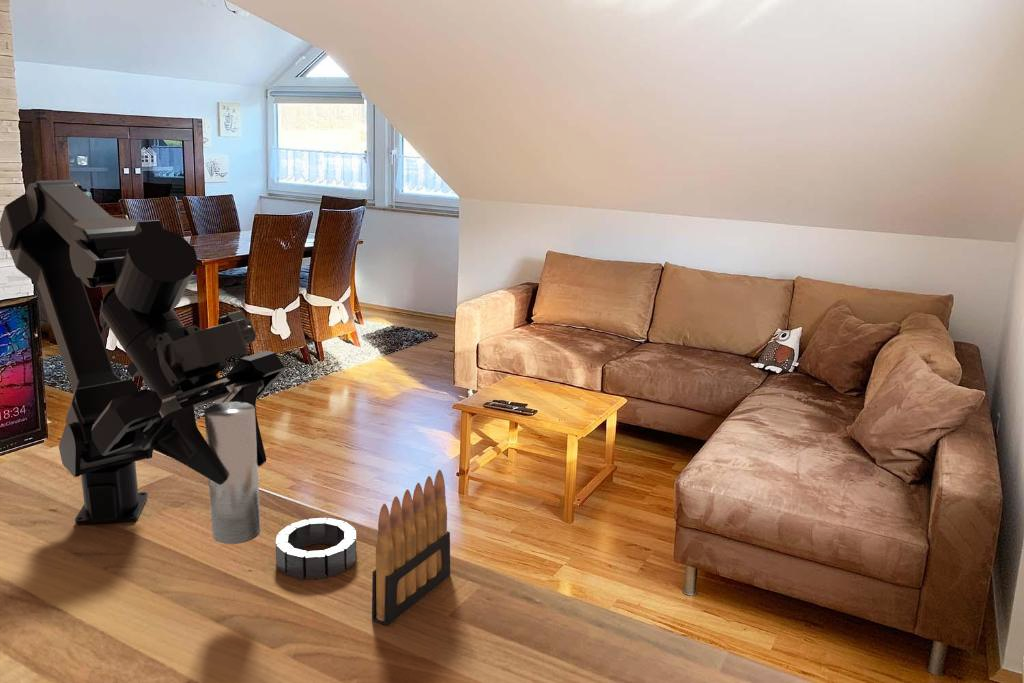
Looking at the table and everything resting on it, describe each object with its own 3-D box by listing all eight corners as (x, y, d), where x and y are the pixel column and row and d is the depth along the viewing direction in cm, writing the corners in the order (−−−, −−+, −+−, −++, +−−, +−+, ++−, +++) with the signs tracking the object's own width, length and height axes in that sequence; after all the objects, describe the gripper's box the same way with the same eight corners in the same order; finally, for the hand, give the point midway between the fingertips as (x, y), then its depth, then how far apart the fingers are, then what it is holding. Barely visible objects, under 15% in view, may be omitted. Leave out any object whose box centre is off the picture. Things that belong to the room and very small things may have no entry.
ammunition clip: (386, 626, 80) (386, 510, 76) (371, 620, 81) (369, 505, 77) (450, 575, 89) (452, 468, 85) (436, 569, 90) (437, 464, 86)
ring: (279, 540, 94) (279, 520, 93) (355, 536, 96) (355, 516, 95) (274, 581, 86) (273, 559, 86) (356, 575, 88) (356, 554, 87)
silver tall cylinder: (216, 522, 84) (208, 402, 80) (262, 520, 84) (257, 401, 81) (209, 545, 80) (200, 419, 76) (258, 542, 80) (252, 418, 77)
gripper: (99, 308, 69) (202, 466, 67) (268, 272, 85) (356, 399, 83) (50, 381, 75) (144, 528, 73) (217, 334, 91) (298, 454, 89)
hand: (243, 472), depth 79 cm, fingers closed on silver tall cylinder, 4 cm apart
